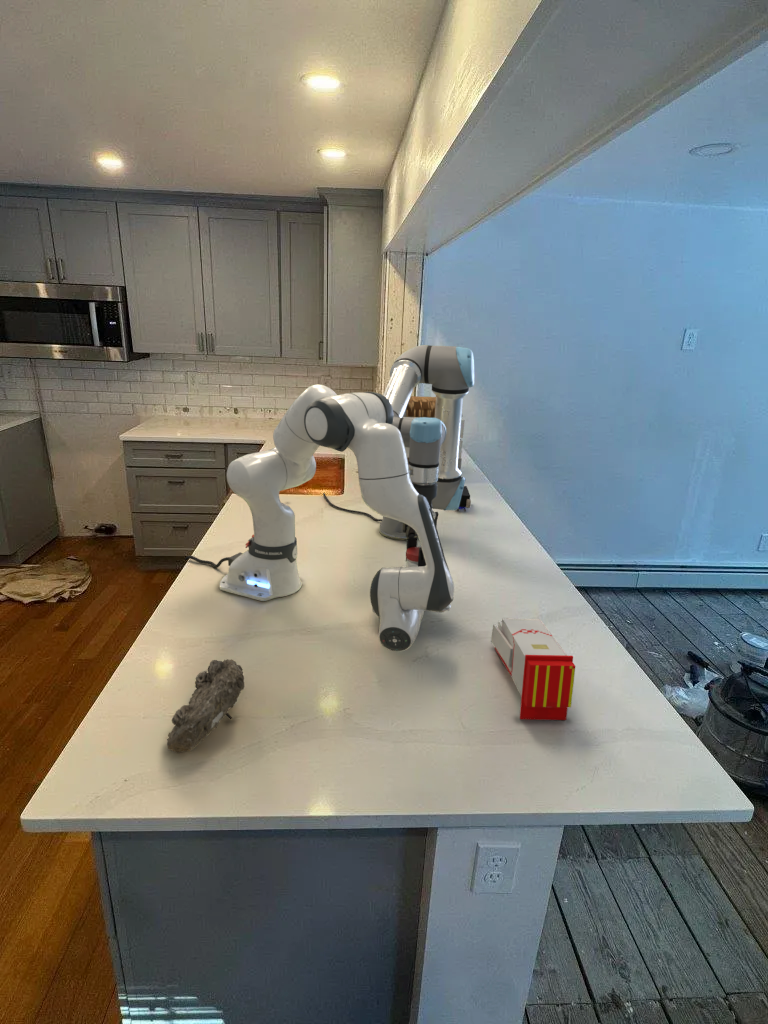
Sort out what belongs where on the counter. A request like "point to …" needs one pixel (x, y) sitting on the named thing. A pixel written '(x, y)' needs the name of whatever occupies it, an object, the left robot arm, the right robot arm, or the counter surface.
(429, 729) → the counter surface
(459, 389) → the right robot arm
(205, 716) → the fossil
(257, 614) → the counter surface
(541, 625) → the toy
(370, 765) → the counter surface
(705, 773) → the counter surface
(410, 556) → the lid
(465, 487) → the figurine character
